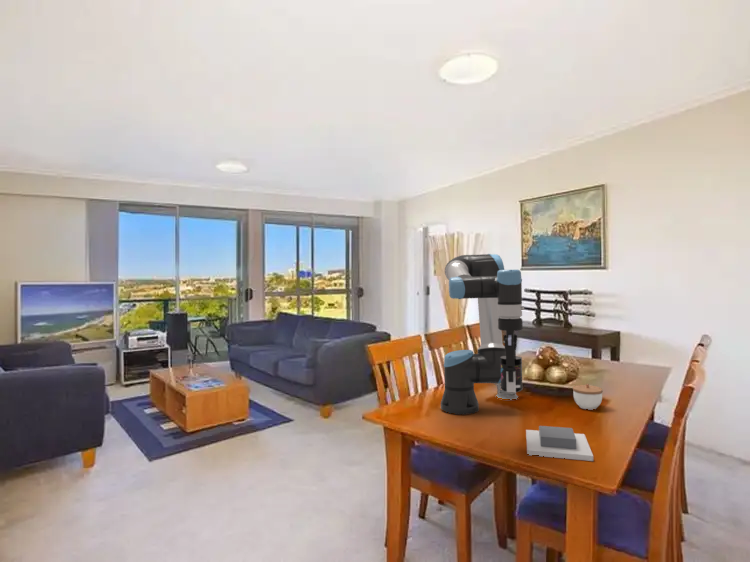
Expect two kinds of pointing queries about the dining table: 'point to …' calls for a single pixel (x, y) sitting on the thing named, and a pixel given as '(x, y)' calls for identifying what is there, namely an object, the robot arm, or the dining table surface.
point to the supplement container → (517, 373)
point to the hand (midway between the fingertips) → (511, 388)
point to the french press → (505, 393)
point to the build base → (559, 451)
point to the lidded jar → (587, 396)
